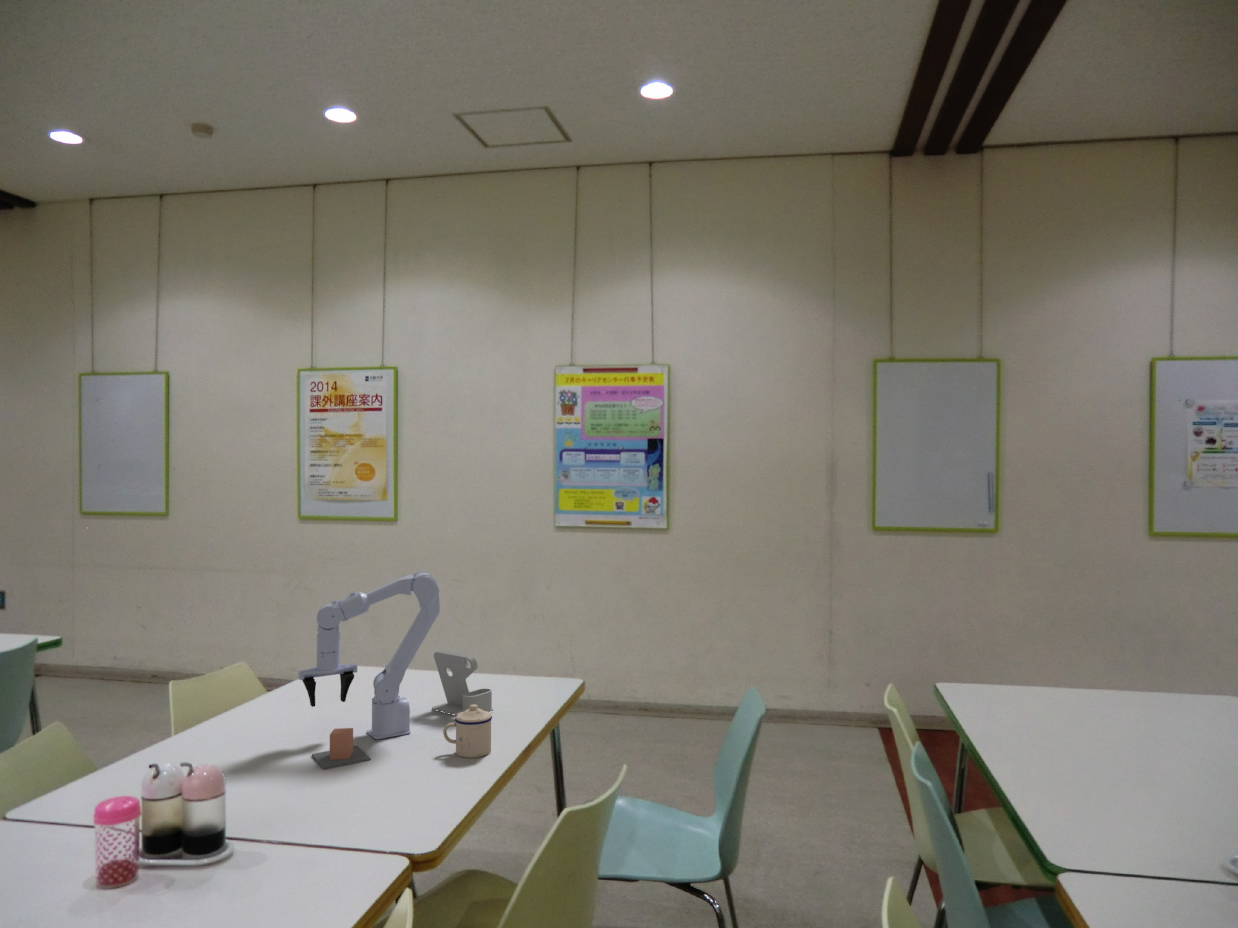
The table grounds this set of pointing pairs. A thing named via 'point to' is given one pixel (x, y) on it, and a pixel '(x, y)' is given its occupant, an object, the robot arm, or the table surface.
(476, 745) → the teacup with lid
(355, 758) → the charcoal mat
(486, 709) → the phone holder
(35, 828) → the table surface
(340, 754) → the brick-red block
